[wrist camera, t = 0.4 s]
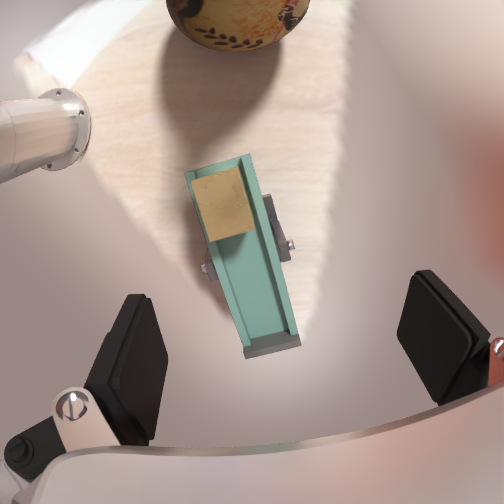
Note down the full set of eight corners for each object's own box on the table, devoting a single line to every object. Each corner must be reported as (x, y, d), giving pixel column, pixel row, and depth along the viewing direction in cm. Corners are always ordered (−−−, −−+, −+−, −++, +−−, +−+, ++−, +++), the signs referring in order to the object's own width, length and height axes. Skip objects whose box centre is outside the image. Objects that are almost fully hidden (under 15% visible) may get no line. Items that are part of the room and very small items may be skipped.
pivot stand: (217, 273, 47) (214, 306, 39) (195, 215, 42) (187, 239, 35) (292, 253, 46) (303, 283, 38) (276, 191, 41) (286, 211, 34)
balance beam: (245, 341, 41) (245, 359, 37) (189, 172, 34) (181, 174, 30) (296, 328, 41) (301, 345, 37) (249, 153, 34) (249, 153, 30)
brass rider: (217, 225, 35) (209, 242, 29) (201, 176, 33) (190, 181, 27) (253, 215, 35) (254, 229, 28) (239, 165, 33) (236, 167, 26)
